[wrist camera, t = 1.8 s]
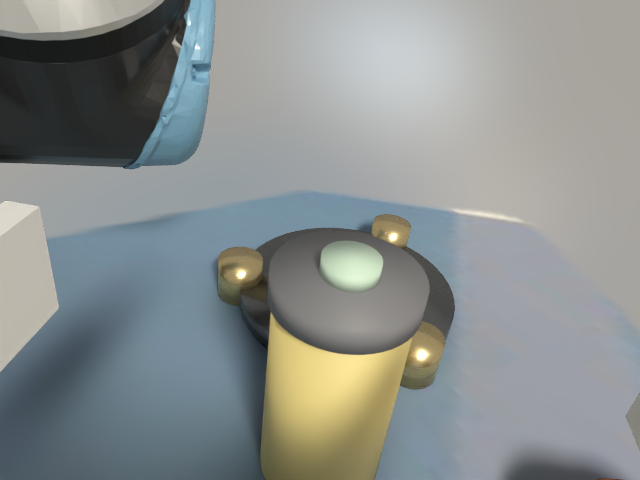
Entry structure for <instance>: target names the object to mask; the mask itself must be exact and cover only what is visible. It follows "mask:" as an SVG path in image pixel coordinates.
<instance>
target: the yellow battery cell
mask: <svg viewBox="0 0 640 480" xmlns="http://www.w3.org/2000/svg"><path fill="white" fill-rule="evenodd" d="M429 292H430V285H429V280H428V277H427V275H426V273H425V271H424V269H423V268H422V266H421V265H420V264H419V263H418V262H417V261H416V260H415V259H414V258H413V257H412V256H411V255H410V254H408V253H407V252H406V251H404V250H402V249H401V248H399V247H398V246H396V245H394V244H392V243H390V242H387V241H385V240H382V239H380V238H377V237H374V236H370V235H366V234H362V233H356V232H349V231H320V232H314V233H309V234H305V235H301V236H299V237H296V238H294V239H292V240H290V241H288V242H286V243H285V244H284V245H282V246H281V247H280V248H279V249H278V250H277V251H276V252H275V254H274V255H273V257H272V259H271V262H270V266H269V279H268V293H267V300H268V305H269V308H270V310H271V315H270V329H269V342H268V355H267V369H266V382H265V396H264V409H263V422H262V436H261V449H260V463H261V468H262V472H263V475H264V477H265V479H266V480H375V476H376V472H377V469H378V465H379V461H380V457H381V454H382V450H383V446H384V442H385V439H386V435H387V431H388V427H389V423H390V420H391V416H392V412H393V408H394V405H395V401H396V397H397V393H398V390H399V386H400V382H401V378H402V374H403V371H404V367H405V363H406V359H407V356H408V352H409V348H410V344H411V341H412V337H413V336H414V334H415V333H416V332H417V331H418V329H419V327H420V325H421V322H422V318H423V314H424V311H425V307H426V303H427V300H428V296H429Z"/></svg>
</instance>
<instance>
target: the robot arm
mask: <svg viewBox="0 0 640 480" xmlns="http://www.w3.org/2000/svg"><path fill="white" fill-rule="evenodd" d="M214 28H215V0H0V163H32V164H61V165H85V166H110V167H123V168H125V169H135V168H138V167H140V166H152V165H176V164H180V163H182V162H184V161H186V160H187V159H189V158H190V157H191V156H192V155H193V154H194V153H195V151H196V150H197V147H198V145H199V143H200V140H201V136H202V132H203V127H204V122H205V115H206V110H207V103H208V95H209V84H210V76H209V70H210V68H211V58H212V53H213V44H214ZM58 309H59V305H58V300H57V294H56V289H55V284H54V279H53V273H52V268H51V263H50V258H49V252H48V247H47V242H46V237H45V232H44V226H43V221H42V216H41V211H40V207H39V206H35V205H29V204H23V203H17V202H12V201H4V202H3V203H1V204H0V372H1V371H2V370H3V368H4V367H5V366H6V365H7V364H8V363H9V362H10V361H11V360H12V359H13V358H14V356H15V355H16V354H17V353H18V352H19V351H20V350H21V349H22V348H23V347H24V346H25V345H26V343H27V342H28V341H29V340H30V339H31V338H32V337H33V336H34V335H35V334H36V333H37V332H38V330H39V329H40V328H41V327H42V326H43V325H44V324H45V323H46V322H47V321H48V320H49V319H50V317H51V316H52V315H53V314H54V313H55V312H56V311H57V310H58ZM626 419H627V421H628V423H629V426H630V428H631V431H632V433H633V436H634V438H635V440H636V443H637V445H638V448H639V450H640V393H639V394H638V396H637V398H636V399H635V401H634V403H633V405H632V406H631V408H630V410H629V411H628V413H627V415H626Z"/></svg>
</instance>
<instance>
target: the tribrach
mask: <svg viewBox="0 0 640 480" xmlns="http://www.w3.org/2000/svg"><path fill="white" fill-rule="evenodd" d="M410 229H411V225H410V223H409V222H408V221H407V220H405V219H404V218H401V217H399V216H395V215H389V214H384V215H379V216H377V217H375V218H374V220H373V225H372V231H371V233H368V232H363V231H357V230H351V229H342V228H315V229H306V230H300V231H295V232H291V233H287V234H284V235H282V236H279V237H276V238H274V239H272V240H270V241H268V242H266V243H265V244H263V245H262V246H260V247H259V248H258V249H257V250H254V249H251V248H247V247H233V248H229V249H227V250H225V251H223V252H222V253H221V254H220V255H219V257H218V295H219V297H220V298H221V299H222V300H223V301H224V302H226V303H228V304H231V305H238V306H240V311H241V314H242V317H243V319H244V321H245V323H246V325H247V327H248V328H249V330H250V331H251V332H252V334H253V335H254V336H255V337H256V338H257V339H258V340H259V341H260V342H261V343H262V344H263V345H264V346H265V347H266V348H268V342H269V329H270V315H271V310H270V308H269V305H268V300H267V293H268V279H269V266H270V262H271V259H272V257H273V255H274V254H275V252H276V251H277V250H278V249H279V248H280V247H281V246H282V245H284V244H285V243H286V242H288V241H290V240H292V239H294V238H296V237H299V236H301V235H305V234H309V233H314V232H320V231H349V232H356V233H362V234H366V235H370V236H374V237H377V238H380V239H382V240H385V241H387V242H390V243H392V244H394V245H396V246H398V247H399V248H401V249H402V250H404V251H406V252H407V253H408V254H410V255H411V256H412V257H413V258H414V259H415V260H416V261H417V262H418V263H419V264H420V265H421V266H422V268H423V269H424V271H425V273H426V275H427V277H428V280H429V285H430V292H429V296H428V300H427V303H426V307H425V311H424V314H423V318H422V322H421V325H420V327H419V329H418V331H417V332H416V333H415V334H414V336H413V337H412V341H411V344H410V348H409V352H408V356H407V359H406V363H405V367H404V371H403V374H402V378H401V382H400V385H401V386H403V387H406V388H410V389H423V388H426V387H428V386H430V385H431V384H432V383H433V381H434V378H435V375H436V372H437V369H438V366H439V362H440V359H441V356H442V353H443V350H444V346H445V341H446V338H447V336H448V333H449V330H450V327H451V324H452V320H453V316H454V311H455V306H454V298H453V294H452V291H451V289H450V287H449V284H448V283H447V281H446V280H445V278H444V277H443V275H442V274H441V273H440V272H439V271H438V269H437V268H436V267H435V266H434V265H432V264H431V263H430V262H429V261H428V260H427V259H425V258H424V257H423V256H421V255H420V254H418V253H417V252H415V251H413V250H412V249H410V248H408V247H406V246H407V242H408V238H409V233H410Z"/></svg>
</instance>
